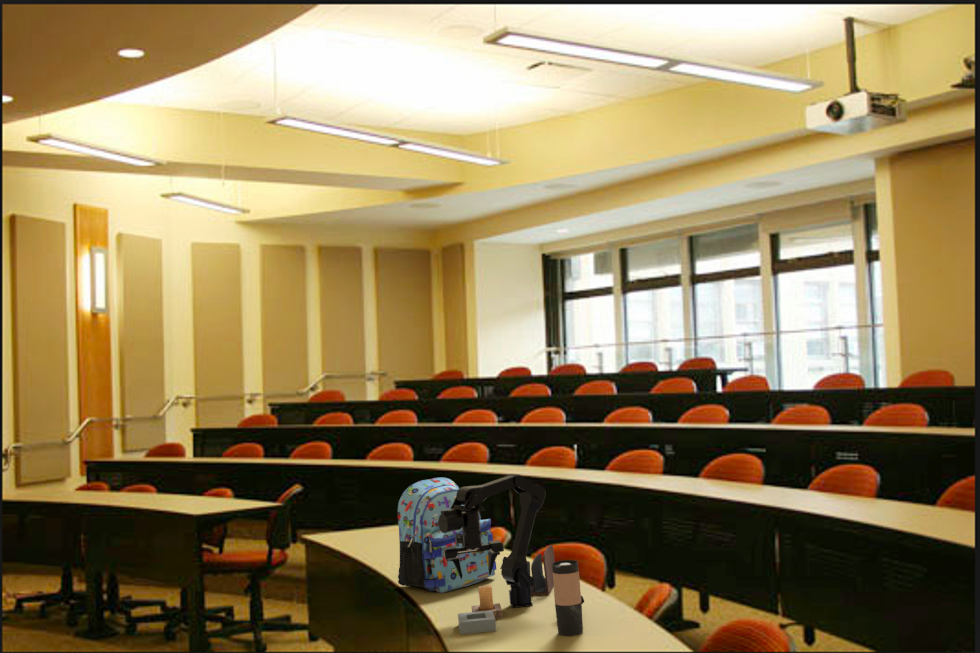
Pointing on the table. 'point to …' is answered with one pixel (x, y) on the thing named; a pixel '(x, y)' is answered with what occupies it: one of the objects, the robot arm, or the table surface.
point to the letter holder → (540, 582)
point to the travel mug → (567, 597)
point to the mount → (496, 609)
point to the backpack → (435, 540)
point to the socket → (476, 622)
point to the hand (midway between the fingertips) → (475, 576)
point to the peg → (485, 597)
